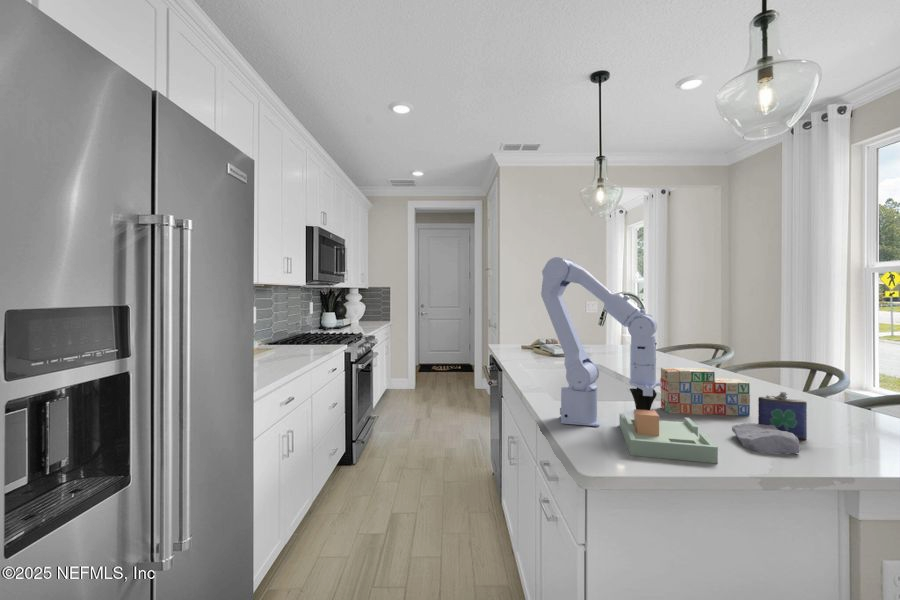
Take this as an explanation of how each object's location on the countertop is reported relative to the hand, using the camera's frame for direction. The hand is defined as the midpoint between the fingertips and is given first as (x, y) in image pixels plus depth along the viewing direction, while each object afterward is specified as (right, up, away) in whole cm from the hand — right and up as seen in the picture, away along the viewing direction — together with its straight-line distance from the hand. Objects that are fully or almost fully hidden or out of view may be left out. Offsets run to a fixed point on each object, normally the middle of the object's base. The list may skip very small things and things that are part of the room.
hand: (642, 418), depth 104 cm
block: (-2, -1, -7) cm, 7 cm away
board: (+1, -3, -7) cm, 8 cm away
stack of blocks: (+25, -3, +17) cm, 31 cm away
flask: (+31, -3, -4) cm, 31 cm away
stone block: (+22, -4, -9) cm, 24 cm away
